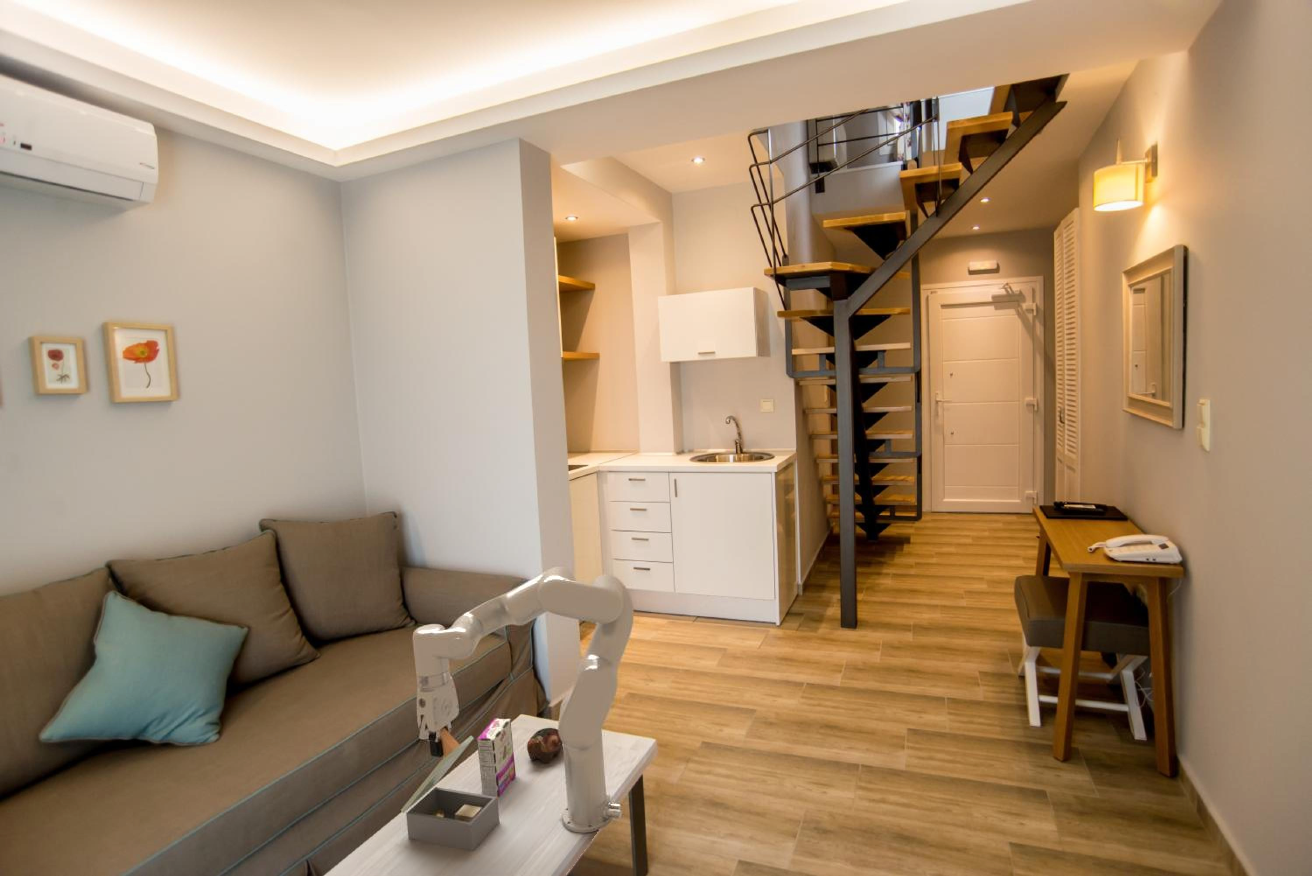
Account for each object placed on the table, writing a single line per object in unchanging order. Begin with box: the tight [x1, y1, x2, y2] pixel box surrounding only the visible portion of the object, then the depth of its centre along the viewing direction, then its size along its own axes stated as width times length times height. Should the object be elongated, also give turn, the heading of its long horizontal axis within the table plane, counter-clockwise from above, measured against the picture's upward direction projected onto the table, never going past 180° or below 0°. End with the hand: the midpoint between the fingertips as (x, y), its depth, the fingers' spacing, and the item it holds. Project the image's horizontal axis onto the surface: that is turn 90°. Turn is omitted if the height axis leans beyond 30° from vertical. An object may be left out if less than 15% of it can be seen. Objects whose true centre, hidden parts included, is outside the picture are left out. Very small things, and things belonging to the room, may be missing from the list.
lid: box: [400, 728, 475, 814], centre depth 166 cm, size 19×12×6 cm
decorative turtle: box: [526, 727, 563, 764], centre depth 198 cm, size 10×15×8 cm, turn 157°
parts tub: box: [405, 786, 500, 852], centre depth 165 cm, size 18×11×7 cm, turn 70°
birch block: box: [455, 804, 482, 822], centre depth 166 cm, size 5×4×4 cm
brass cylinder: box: [428, 810, 444, 818], centre depth 165 cm, size 4×4×4 cm
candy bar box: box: [476, 717, 517, 798], centre depth 183 cm, size 11×5×16 cm, turn 168°
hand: (441, 752), depth 165 cm, fingers closed on lid, 2 cm apart
